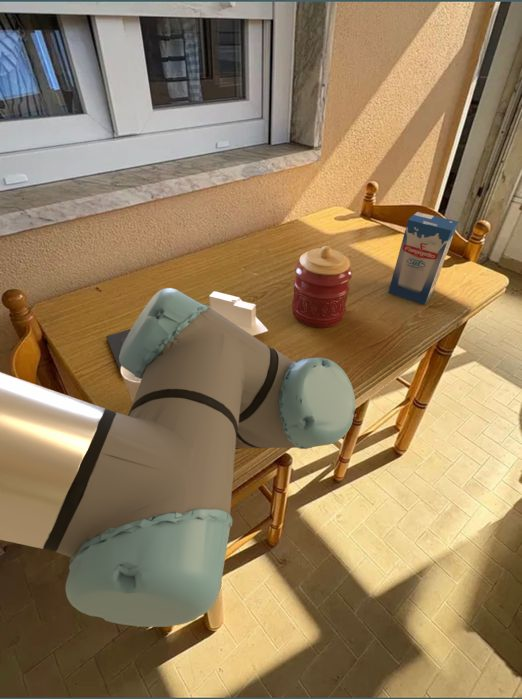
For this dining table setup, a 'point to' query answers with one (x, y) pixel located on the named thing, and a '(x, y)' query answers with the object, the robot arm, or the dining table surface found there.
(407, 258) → the milk carton
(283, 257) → the dining table surface
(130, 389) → the white cup
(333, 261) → the kitchen canister
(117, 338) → the rubber pad
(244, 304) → the napkin holder
